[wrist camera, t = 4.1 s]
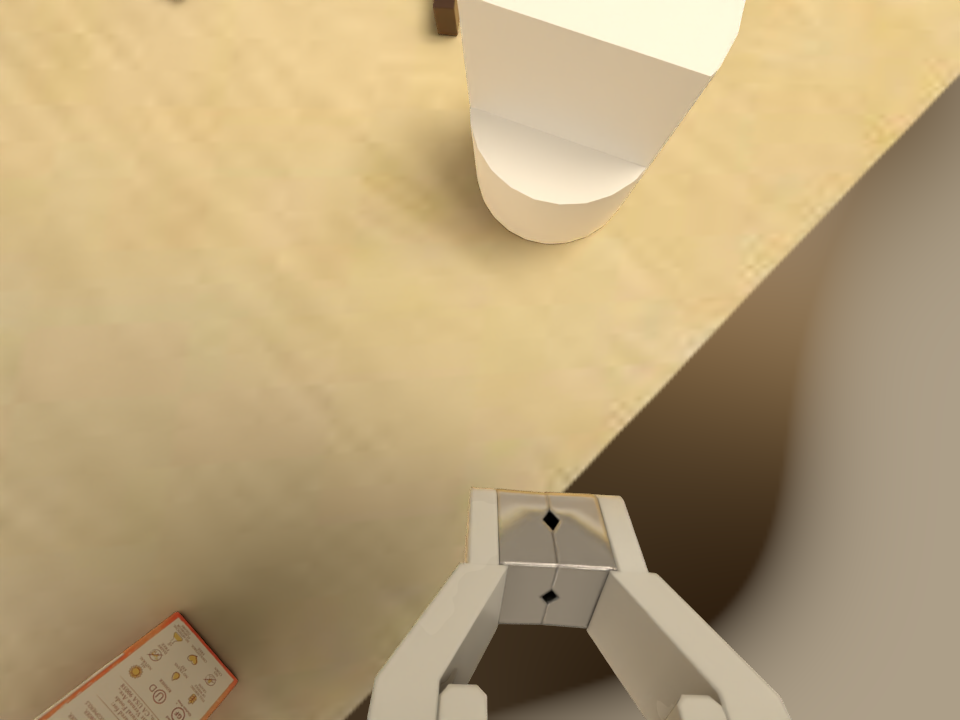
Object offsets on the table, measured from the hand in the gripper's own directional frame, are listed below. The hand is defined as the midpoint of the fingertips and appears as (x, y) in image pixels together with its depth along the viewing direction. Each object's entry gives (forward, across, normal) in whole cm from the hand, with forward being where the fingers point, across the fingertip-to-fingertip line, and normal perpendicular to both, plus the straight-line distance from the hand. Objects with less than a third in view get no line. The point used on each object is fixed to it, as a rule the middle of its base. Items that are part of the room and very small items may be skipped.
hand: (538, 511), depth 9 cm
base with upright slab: (+22, -3, -3) cm, 22 cm away
